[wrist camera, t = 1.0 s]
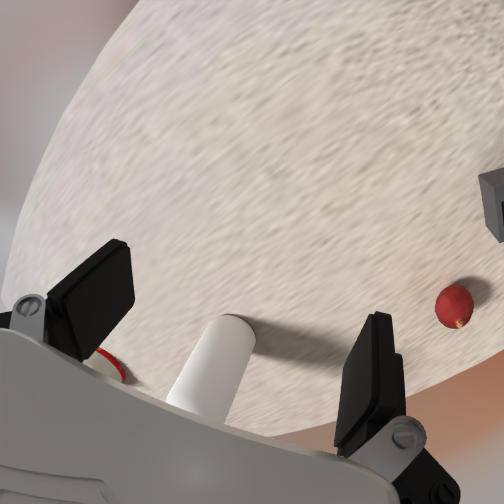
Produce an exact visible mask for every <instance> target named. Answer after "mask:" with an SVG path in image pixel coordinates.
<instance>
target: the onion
mask: <svg viewBox="0 0 504 504" xmlns="http://www.w3.org/2000/svg"><path fill="white" fill-rule="evenodd" d="M473 308H474V302H473V299H472V296H471V294H470V292H469V291H468V290H467V289H466V288H464V287H462V286H459V285H451V286H449V287H447V288H445V289H444V290H443V291H442V292H441V293H440V294H439V296H438V298H437V300H436V304H435V312H436V315H437V317H438V319H439V321H440V322H441V323H442V324H443V325H444V326H446V327H448V328H452V329H459V328H461V327H463V326H465V325H466V324H467V323H468V322H469V320H470V318H471V315H472V313H473Z"/></svg>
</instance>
